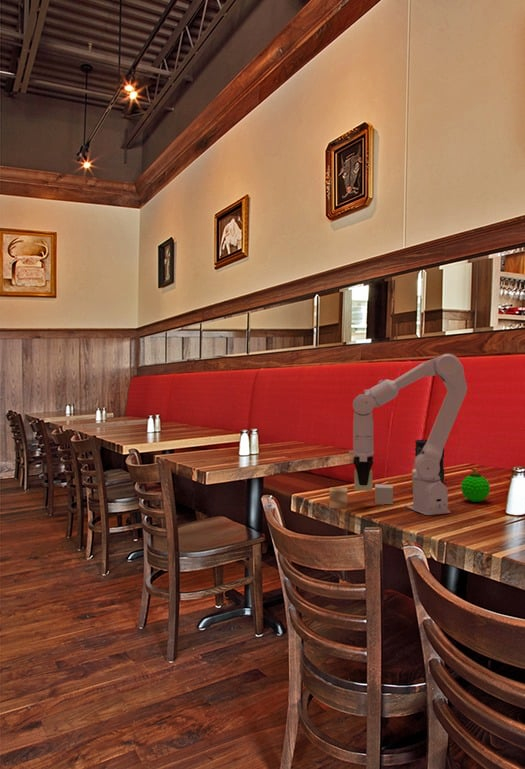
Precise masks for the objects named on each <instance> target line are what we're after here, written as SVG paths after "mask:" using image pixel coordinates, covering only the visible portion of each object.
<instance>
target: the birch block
mask: <svg viewBox="0 0 525 769" xmlns="http://www.w3.org/2000/svg"><path fill="white" fill-rule="evenodd" d="M348 490H349V489H348V487H330V488H329V493H328V494H329V503H328V504H329V509H343V510H344V509H348V501H349V500H348V499H349V498H348V495H349V494H348Z"/></svg>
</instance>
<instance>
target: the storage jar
mask: <svg viewBox="0 0 525 769" xmlns="http://www.w3.org/2000/svg"><path fill="white" fill-rule="evenodd" d="M427 440H428V439H416V440H415V449H414V452H415V453H414V456H415V457H416V456H417V455H419V454H420V453H421V452H422V450H423V447H424V446H425V444H426V442H427ZM444 458H445V448H443V452H442V457H441V459H440V463H439V465H440V471H439V474H438V476H440V481H441V483H443V484H444V485H445V468H444Z"/></svg>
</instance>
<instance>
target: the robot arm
mask: <svg viewBox="0 0 525 769" xmlns="http://www.w3.org/2000/svg"><path fill="white" fill-rule="evenodd" d="M464 370H465V369H464V366H463V364H462V363H461V361H460V360H459V358H458V357H457V356H456V355H454V354H453V353H445V354H444V353H443V354H442V355H441V354H440V355H439V356H437V357H435V358H432V359H429V360H427V361H424V362H422V363H420V364H419V365H417V366H415V367H413V368H412V369H410V370H409V371H407V372H405V373H404V374H402V375H400V376H399V377H397V378H395V379H393V380H391V379H387V378H386V379H384V380H383V379H380V380H379V381H378V383H377V384H376V385H374V386H372V387H371V388H368V389H367V388H366V389H363V392H364V393H360V394H358V395H357V396H356V397H355V398H354V399H353V400H352V408H353V409H352V410H354V412H353V419H352V441H353V442H352V448H353V449H352V450H349V451H348V454H349V455H350V454H352V455H354V456H353V460H352V462H353V465H354V466H355V470H357V474H358V480H359V484H360V485H367V484H368V479H369V473H370V470H372V467H373V465H374V460H373V459H374V456H373V455H374V454H375V451H374V419H373V410H374V408H380V407H382V406H383V405H385V404H386V403H388V402H390V401H392V400H393V399H395V398H397V397H398V395H399V391H400V390H401V389H404V388H406V387H407V386H408V385H411V384H412V383H414V382H416V381H418V380H420V379H422V378H424V377H434V376H436V375H437V376H438V378H440V380H442V383H443V384H444V387H445V388H446V390H447V391H446V394H445V396H444V398H443V401H442V403H441V407H440V408H439V411H438V414H437V416H436V418H435V421H434V423H433V425H432V428H431V430H430V433H429V435H428V438H427V439H426V440H427V442H426V444H425V446H424V447H423V450H422V452H421V453H420V454H419V455H417V456H415V458H414V461H413V467H414V466H415V467H414V469H415V468H416V472H417V473H416V474H415V475H414V476H413V492H412V494H413V495H412V496H413V497H412V498H413V499H412V500H413V501H412V504H413V505H412V504H411V505H407V506H406V508H407V509H409V510H412V511H414V512H417V513H418V514H419V513H420V514H421V515H425V516H433V515H442V514H443V515H445V514H450V513H451V510H449V504H448V503H449V498H448V497H449V495H448V492H449V491H448V488H447V486H446V485H445V483H444V484H443V483H441V481H440V476H438V474H439V471H440V465H439V463H440V459H441V457H442V452H443V449H445V445H446V442H447V440H448V439H449V437H450V433H451V431H452V428H453V426H454V423H455V420H456V419H457V417H458V414H459V412H460V409H461V407H462V404H463V401H464V400H465V397H466V394H467V392H468V385H467V382H466V377H465V372H464Z"/></svg>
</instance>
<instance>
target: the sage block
mask: <svg viewBox="0 0 525 769" xmlns="http://www.w3.org/2000/svg"><path fill="white" fill-rule="evenodd" d="M353 476H354V482H353V483H354V484H353V485H354V488H353V489H354V491H360V492H362V491H364V492H365V491H366V492H372V491H373V470H372V469H370V473H369V479H368V484H367V485H360V484H359V480H358V474H357V470H356V469H354V472H353Z"/></svg>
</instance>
